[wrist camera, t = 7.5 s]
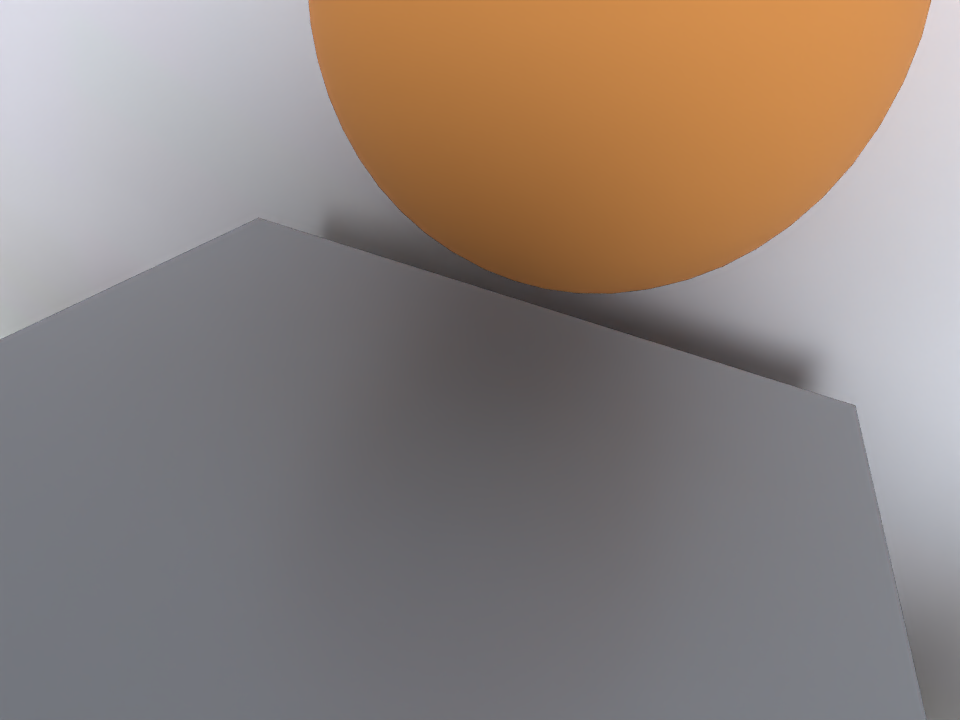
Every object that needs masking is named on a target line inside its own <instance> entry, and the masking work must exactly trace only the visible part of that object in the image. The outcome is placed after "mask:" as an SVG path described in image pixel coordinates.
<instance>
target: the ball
mask: <svg viewBox="0 0 960 720" xmlns="http://www.w3.org/2000/svg"><path fill="white" fill-rule="evenodd" d="M930 3H931V0H309V11H310V22H311V28H312V33H313V38H314V44H315V49H316V54H317V59H318V63H319V66H320V70H321V73H322V76H323V79H324V83H325V86H326V89H327V92H328V96H329V98H330V101H331V103H332V105H333V108H334V110H335V112H336V115H337V117H338V119H339V122H340V124H341V126H342V129H343V131H344V132H345V134H346V136H347V138H348V140H349V141H350V143H351V145H352V147H353V149H354V150H355V152H356V154H357V156H358V158H359V159H360V161H361V162H362V164H363V165H364V166H365V168H366V169H367V171H368V172H369V173H370V175H371V176H372V178H373V179H374V180H375V182H376V183H377V185H378V186H379V187H380V188H381V190H382V191H383V192H384V193H385V194H386V195H387V196H388V197H389V199H390V200H391V201H392V202H393V203H394V204H395V205H396V206H397V208H398V209H399V210H400V211H401V212H402V213H403V214H404V215H406V216H407V217H408V218H409V219H410V220H411V221H412V222H413V223H415V224H416V225H417V226H418V227H419V228H420V229H421V230H422V231H423V232H425V233H426V234H427V235H429V236H430V237H432V238H433V239H435V240H436V241H437V242H439V243H440V244H442V245H443V246H444V247H446V248H447V249H449V250H450V251H452V252H453V253H455V254H457V255H459V256H461V257H463V258H464V259H466V260H468V261H470V262H472V263H474V264H476V265H477V266H479V267H481V268H483V269H485V270H488V271H490V272H493V273H495V274H498V275H500V276H503V277H505V278H508V279H510V280H513V281H516V282H520V283H524V284H528V285H532V286H536V287H540V288H543V289H549V290H557V291H564V292H572V293H607V294H612V293H621V292H629V291H638V290H646V289H651V288H656V287H660V286H664V285H668V284H672V283H676V282H680V281H684V280H688V279H691V278H694V277H696V276H699V275H701V274H704V273H707V272H709V271H712V270H715V269H717V268H720V267H723V266H725V265H727V264H728V263H730V262H732V261H734V260H736V259H738V258H740V257H742V256H744V255H746V254H748V253H749V252H751V251H753V250H755V249H757V248H759V247H760V246H762V245H763V244H764V243H766V242H767V241H769V240H770V239H772V238H773V237H775V236H776V235H778V234H779V233H781V232H782V231H783V230H785V229H786V228H788V227H789V226H791V225H792V224H793V223H794V222H795V221H796V220H798V219H799V218H800V217H801V216H802V215H803V214H804V213H806V212H807V211H808V210H809V209H810V208H811V207H812V206H814V205H815V204H816V203H817V202H818V201H819V200H820V199H822V198H823V197H824V195H825V194H826V193H827V192H828V191H829V190H830V189H831V188H832V187H833V186H834V184H835V183H836V182H837V181H838V180H839V179H840V178H841V177H842V176H843V174H844V173H845V172H846V171H847V170H848V169H849V168H850V167H851V166H852V164H853V163H854V162H855V160H856V159H857V157H858V156H859V154H860V153H861V152H862V150H863V149H864V147H865V146H866V145H867V143H868V142H869V140H870V139H871V138H872V136H873V135H874V133H875V132H876V131H877V129H878V128H879V126H880V124H881V123H882V121H883V119H884V117H885V115H886V114H887V112H888V110H889V108H890V106H891V104H892V103H893V101H894V99H895V97H896V95H897V93H898V91H899V90H900V88H901V86H902V84H903V82H904V80H905V77H906V75H907V72H908V70H909V67H910V65H911V62H912V60H913V57H914V55H915V52H916V50H917V47H918V45H919V42H920V40H921V37H922V34H923V30H924V26H925V22H926V18H927V15H928V11H929V7H930Z"/></svg>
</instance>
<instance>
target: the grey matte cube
mask: <svg viewBox="0 0 960 720" xmlns="http://www.w3.org/2000/svg"><path fill="white" fill-rule="evenodd" d="M0 720H926V715H925V711H924V706H923V702H922V697H921V693H920V689H919V684H918V680H917V675H916V671H915V667H914V662H913V658H912V653H911V649H910V645H909V640H908V636H907V631H906V627H905V622H904V618H903V614H902V609H901V605H900V600H899V596H898V592H897V587H896V583H895V578H894V574H893V570H892V565H891V561H890V556H889V552H888V547H887V543H886V539H885V534H884V530H883V525H882V521H881V517H880V512H879V508H878V503H877V499H876V495H875V490H874V486H873V481H872V477H871V473H870V468H869V464H868V459H867V455H866V450H865V446H864V442H863V437H862V433H861V428H860V424H859V420H858V415H857V411H856V406H855V405H852V404H849V403H845V402H842V401H839V400H836V399H833V398H829V397H826V396H823V395H820V394H817V393H814V392H810V391H807V390H804V389H801V388H798V387H795V386H791V385H788V384H785V383H782V382H779V381H775V380H772V379H769V378H766V377H763V376H760V375H756V374H753V373H750V372H747V371H744V370H740V369H737V368H734V367H731V366H728V365H725V364H721V363H718V362H715V361H712V360H709V359H706V358H702V357H699V356H696V355H693V354H690V353H686V352H683V351H680V350H677V349H674V348H671V347H667V346H664V345H661V344H658V343H655V342H651V341H648V340H645V339H642V338H639V337H636V336H632V335H629V334H626V333H623V332H620V331H617V330H613V329H610V328H607V327H604V326H601V325H597V324H594V323H591V322H588V321H585V320H582V319H578V318H575V317H572V316H569V315H566V314H562V313H559V312H556V311H553V310H550V309H547V308H543V307H540V306H537V305H534V304H531V303H528V302H524V301H521V300H518V299H515V298H512V297H508V296H505V295H502V294H499V293H496V292H493V291H489V290H486V289H483V288H480V287H477V286H473V285H470V284H467V283H464V282H461V281H458V280H454V279H451V278H448V277H445V276H442V275H439V274H435V273H432V272H429V271H426V270H423V269H419V268H416V267H413V266H410V265H407V264H404V263H400V262H397V261H394V260H391V259H388V258H384V257H381V256H378V255H375V254H372V253H369V252H365V251H362V250H359V249H356V248H353V247H350V246H346V245H343V244H340V243H337V242H334V241H330V240H327V239H324V238H321V237H318V236H315V235H311V234H308V233H305V232H302V231H299V230H296V229H292V228H289V227H286V226H283V225H280V224H276V223H273V222H270V221H267V220H264V219H261V218H257V219H255V220H253V221H251V222H249V223H247V224H245V225H242V226H240V227H238V228H236V229H234V230H232V231H230V232H228V233H225V234H223V235H221V236H219V237H217V238H215V239H213V240H211V241H208V242H206V243H204V244H202V245H200V246H198V247H196V248H194V249H192V250H189V251H187V252H185V253H183V254H181V255H179V256H177V257H175V258H172V259H170V260H168V261H166V262H164V263H162V264H160V265H158V266H155V267H153V268H151V269H149V270H147V271H145V272H143V273H141V274H138V275H136V276H134V277H132V278H130V279H128V280H126V281H124V282H121V283H119V284H117V285H115V286H113V287H111V288H109V289H107V290H105V291H102V292H100V293H98V294H96V295H94V296H92V297H90V298H88V299H85V300H83V301H81V302H79V303H77V304H75V305H73V306H71V307H68V308H66V309H64V310H62V311H60V312H58V313H56V314H54V315H51V316H49V317H47V318H45V319H43V320H41V321H39V322H37V323H35V324H32V325H30V326H28V327H26V328H24V329H22V330H20V331H18V332H15V333H13V334H11V335H9V336H7V337H5V338H3V339H1V340H0Z"/></svg>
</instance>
